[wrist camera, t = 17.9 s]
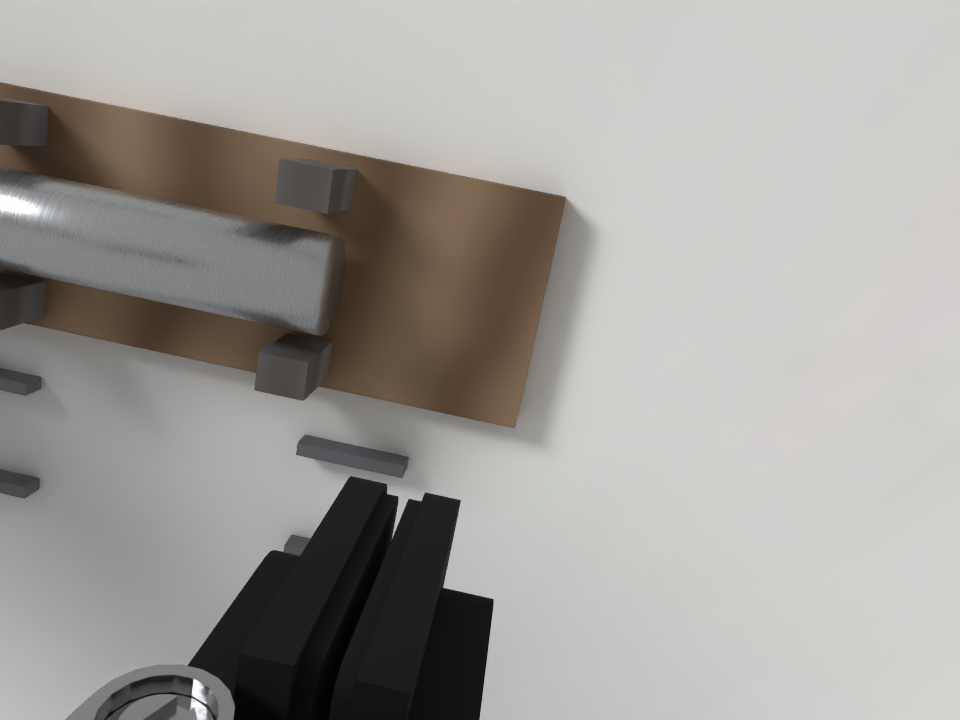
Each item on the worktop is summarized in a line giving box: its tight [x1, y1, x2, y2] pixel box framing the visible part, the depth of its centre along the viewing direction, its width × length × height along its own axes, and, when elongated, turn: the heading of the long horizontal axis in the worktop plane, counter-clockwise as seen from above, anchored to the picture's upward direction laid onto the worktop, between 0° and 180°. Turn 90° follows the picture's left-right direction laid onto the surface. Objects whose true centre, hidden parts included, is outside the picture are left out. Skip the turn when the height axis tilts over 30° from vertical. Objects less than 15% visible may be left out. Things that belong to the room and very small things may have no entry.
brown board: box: [0, 82, 566, 428], centre depth 27 cm, size 32×10×9 cm, turn 79°
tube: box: [0, 166, 346, 336], centre depth 28 cm, size 24×4×4 cm, turn 79°
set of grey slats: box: [0, 369, 409, 556], centre depth 34 cm, size 23×6×1 cm, turn 79°
